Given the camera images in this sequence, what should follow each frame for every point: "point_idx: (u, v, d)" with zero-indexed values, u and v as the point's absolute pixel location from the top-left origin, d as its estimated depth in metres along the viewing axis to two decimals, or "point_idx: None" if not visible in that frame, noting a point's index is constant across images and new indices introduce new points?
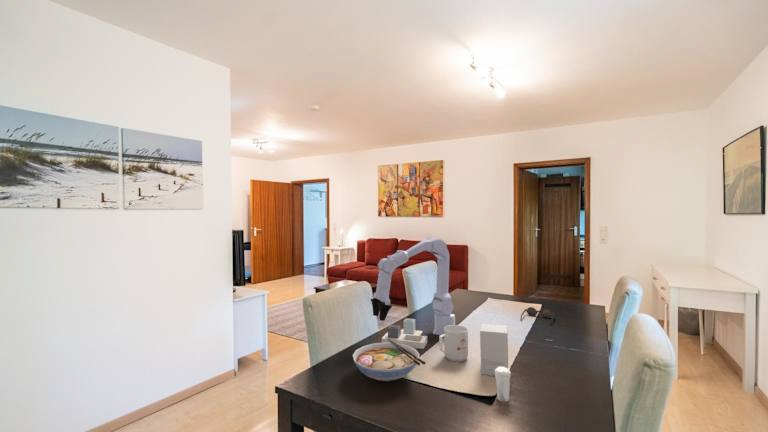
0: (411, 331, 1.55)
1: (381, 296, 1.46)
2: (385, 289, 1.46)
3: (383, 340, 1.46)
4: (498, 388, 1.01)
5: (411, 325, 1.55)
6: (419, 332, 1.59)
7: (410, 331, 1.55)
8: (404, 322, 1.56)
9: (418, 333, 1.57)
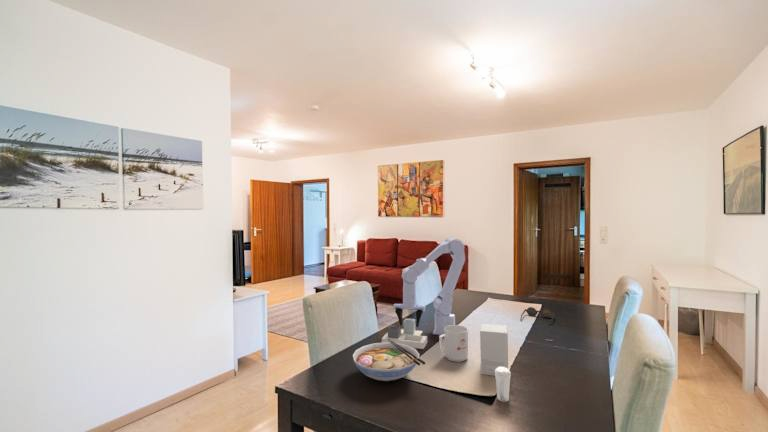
0: (411, 331, 1.55)
1: (413, 305, 1.56)
2: None
3: (383, 340, 1.46)
4: (498, 388, 1.01)
5: (411, 325, 1.55)
6: (419, 332, 1.59)
7: (410, 331, 1.55)
8: (404, 322, 1.56)
9: (418, 333, 1.57)
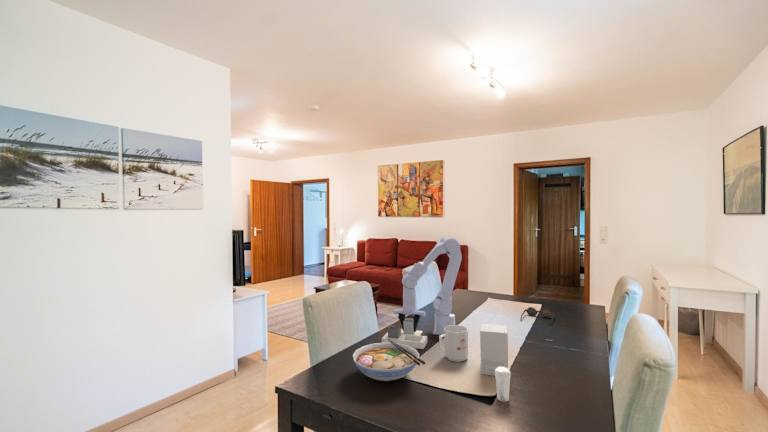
0: (411, 331, 1.55)
1: (414, 310, 1.56)
2: (415, 303, 1.57)
3: (383, 340, 1.46)
4: (498, 388, 1.01)
5: (411, 325, 1.55)
6: (419, 332, 1.59)
7: (410, 331, 1.55)
8: (404, 322, 1.56)
9: (418, 333, 1.57)
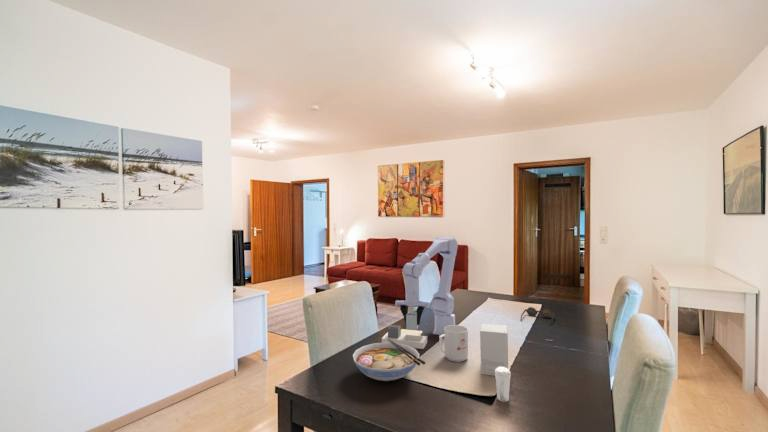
0: (414, 325, 1.44)
1: (417, 302, 1.44)
2: (418, 293, 1.45)
3: (383, 340, 1.46)
4: (498, 388, 1.01)
5: (414, 319, 1.44)
6: (419, 332, 1.59)
7: (413, 326, 1.44)
8: (407, 315, 1.45)
9: (418, 333, 1.57)
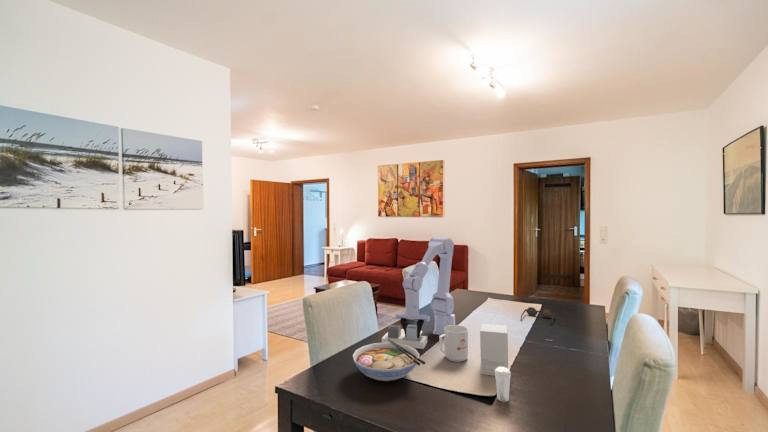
0: (414, 339, 1.44)
1: (417, 315, 1.44)
2: (418, 307, 1.45)
3: (383, 340, 1.46)
4: (498, 388, 1.01)
5: (414, 332, 1.44)
6: None
7: (413, 339, 1.44)
8: (407, 329, 1.45)
9: None
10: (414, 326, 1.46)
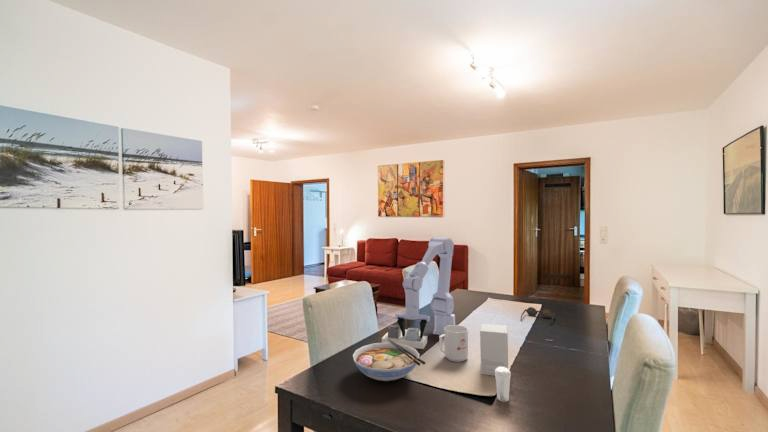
0: None
1: (417, 315, 1.44)
2: (418, 307, 1.45)
3: (383, 340, 1.46)
4: (498, 388, 1.01)
5: (415, 335, 1.43)
6: (419, 332, 1.59)
7: None
8: (407, 332, 1.44)
9: None
10: (414, 329, 1.46)
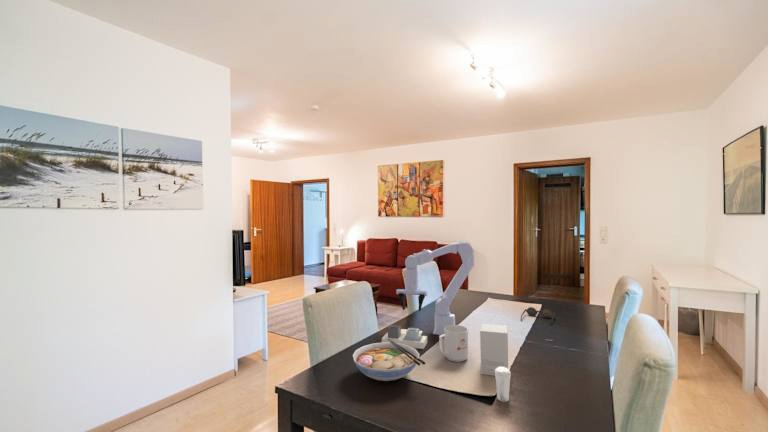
0: None
1: (416, 290, 1.60)
2: (417, 283, 1.61)
3: (383, 340, 1.46)
4: (498, 388, 1.01)
5: (415, 335, 1.43)
6: (419, 332, 1.59)
7: None
8: (407, 332, 1.44)
9: None
10: (414, 329, 1.46)
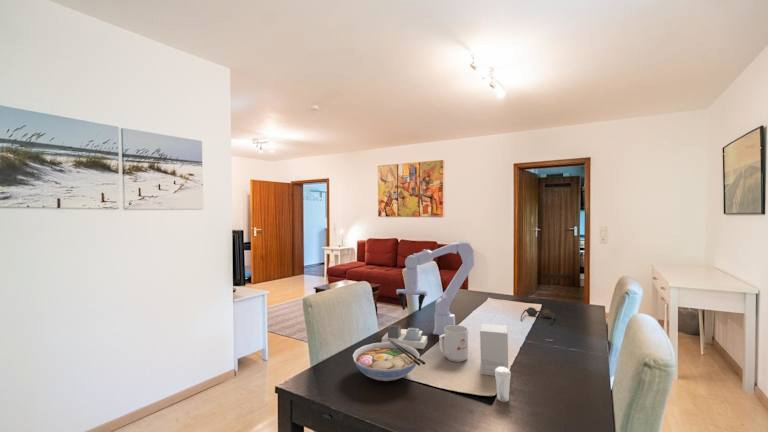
0: None
1: (416, 290, 1.60)
2: (417, 283, 1.61)
3: (383, 340, 1.46)
4: (498, 388, 1.01)
5: (415, 335, 1.43)
6: (419, 332, 1.59)
7: None
8: (407, 332, 1.44)
9: None
10: (414, 329, 1.46)
